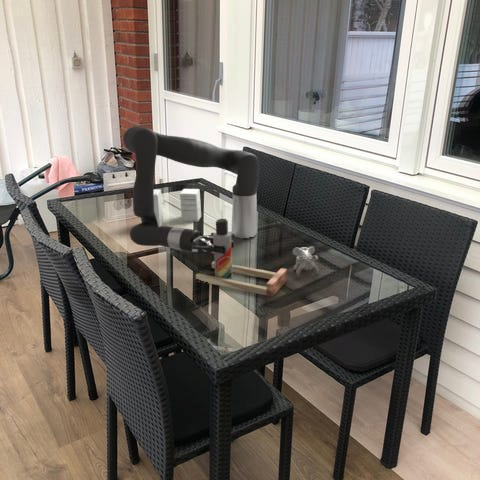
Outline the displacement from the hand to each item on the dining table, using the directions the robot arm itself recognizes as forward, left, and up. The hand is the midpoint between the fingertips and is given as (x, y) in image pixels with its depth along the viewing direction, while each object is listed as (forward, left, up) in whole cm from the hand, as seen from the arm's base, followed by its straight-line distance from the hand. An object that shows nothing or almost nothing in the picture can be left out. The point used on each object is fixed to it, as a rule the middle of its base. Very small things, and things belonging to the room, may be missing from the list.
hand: (229, 247), depth 161 cm
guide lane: (0, +4, -11) cm, 12 cm away
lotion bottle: (0, -3, -11) cm, 12 cm away
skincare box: (-32, -53, -11) cm, 63 cm away
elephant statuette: (-16, +19, -11) cm, 27 cm away
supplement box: (-45, -43, -11) cm, 63 cm away
